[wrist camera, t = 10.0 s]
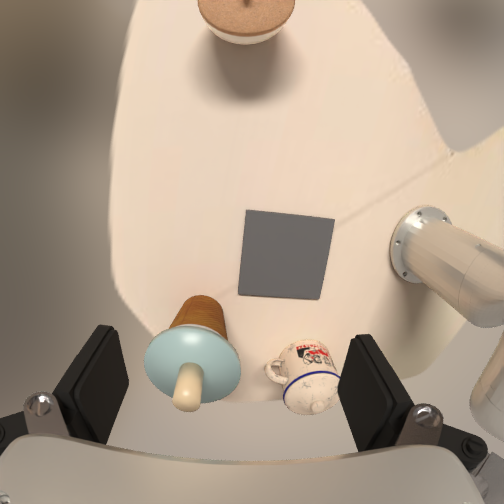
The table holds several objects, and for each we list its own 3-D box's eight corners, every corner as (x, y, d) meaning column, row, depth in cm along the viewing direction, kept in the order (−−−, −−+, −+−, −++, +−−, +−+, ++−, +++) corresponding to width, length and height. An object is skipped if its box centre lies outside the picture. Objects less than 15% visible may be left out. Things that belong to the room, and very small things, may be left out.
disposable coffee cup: (229, 343, 46) (228, 397, 34) (169, 334, 45) (153, 386, 33) (238, 289, 43) (239, 338, 31) (172, 280, 42) (152, 325, 30)
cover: (243, 329, 31) (245, 367, 25) (237, 399, 34) (238, 436, 29) (141, 321, 30) (124, 356, 24) (151, 391, 34) (141, 427, 28)
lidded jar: (194, 5, 29) (184, -28, 20) (268, -14, 28) (276, -49, 19) (218, 65, 32) (213, 40, 24) (296, 44, 32) (313, 16, 23)
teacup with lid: (339, 344, 47) (361, 391, 36) (313, 382, 49) (328, 430, 38) (274, 325, 45) (285, 376, 34) (252, 367, 47) (256, 419, 36)
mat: (333, 219, 40) (334, 219, 39) (318, 297, 44) (319, 299, 43) (246, 209, 39) (246, 210, 38) (237, 292, 43) (237, 294, 42)
